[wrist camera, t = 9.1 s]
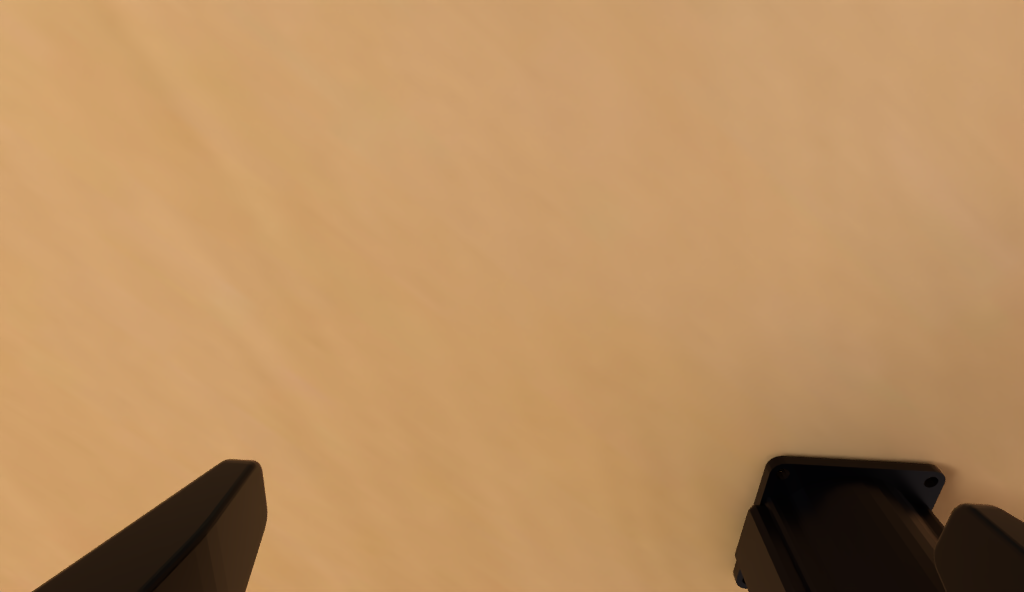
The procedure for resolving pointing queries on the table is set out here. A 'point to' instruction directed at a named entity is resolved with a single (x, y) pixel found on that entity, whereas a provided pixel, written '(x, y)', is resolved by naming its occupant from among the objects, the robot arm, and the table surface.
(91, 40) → the table surface
